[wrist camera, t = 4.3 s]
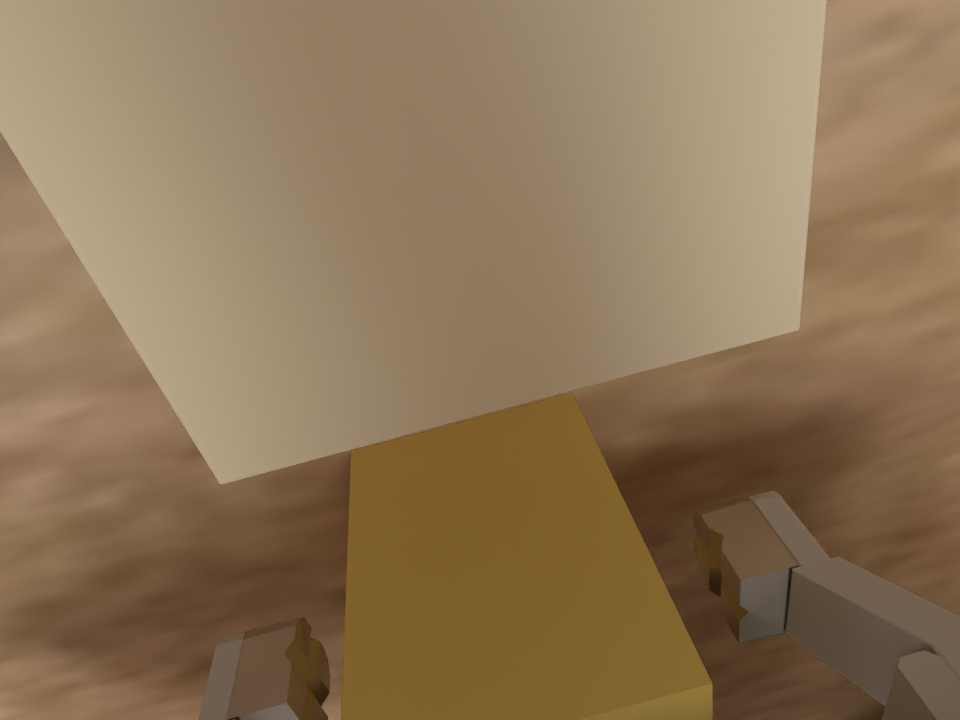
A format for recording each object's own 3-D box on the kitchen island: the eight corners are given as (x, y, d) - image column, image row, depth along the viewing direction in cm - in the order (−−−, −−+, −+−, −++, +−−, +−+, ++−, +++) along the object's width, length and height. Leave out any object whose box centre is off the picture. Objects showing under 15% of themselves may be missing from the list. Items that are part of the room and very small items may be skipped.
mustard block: (571, 391, 12) (712, 683, 7) (596, 540, 15) (714, 835, 10) (351, 450, 12) (338, 786, 7) (412, 589, 15) (436, 913, 10)
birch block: (528, -240, 7) (886, -721, 2) (577, 144, 10) (799, 329, 5) (154, -145, 7) (-340, -412, 2) (297, 218, 10) (220, 484, 5)
